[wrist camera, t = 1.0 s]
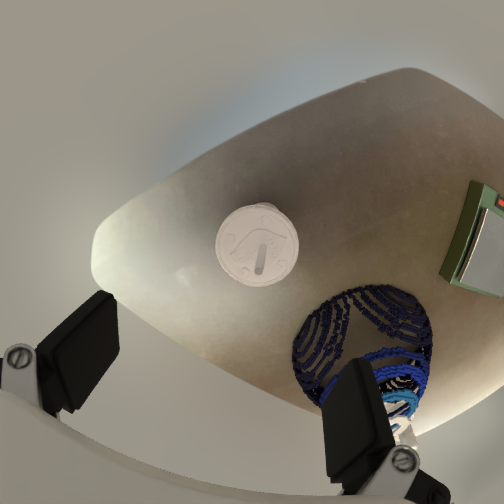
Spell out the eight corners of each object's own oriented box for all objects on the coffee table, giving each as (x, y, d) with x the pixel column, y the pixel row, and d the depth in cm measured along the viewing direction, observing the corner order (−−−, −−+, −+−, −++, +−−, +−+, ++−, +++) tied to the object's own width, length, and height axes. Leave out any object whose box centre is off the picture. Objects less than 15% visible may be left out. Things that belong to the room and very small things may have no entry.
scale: (470, 180, 24) (486, 184, 21) (516, 211, 24) (530, 217, 21) (439, 273, 29) (451, 285, 26) (487, 289, 29) (499, 300, 26)
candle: (376, 406, 38) (389, 459, 27) (398, 388, 37) (417, 442, 25) (392, 412, 39) (406, 462, 28) (413, 395, 37) (432, 445, 26)
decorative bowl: (376, 401, 38) (392, 468, 24) (270, 377, 37) (263, 460, 24) (448, 310, 31) (497, 374, 17) (336, 263, 30) (371, 343, 17)
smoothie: (302, 235, 29) (317, 301, 16) (248, 254, 31) (224, 329, 18) (281, 180, 28) (281, 204, 15) (225, 202, 29) (180, 244, 16)
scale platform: (483, 206, 22) (487, 208, 21) (523, 233, 22) (527, 235, 21) (456, 280, 26) (459, 283, 25) (499, 294, 25) (502, 297, 25)
